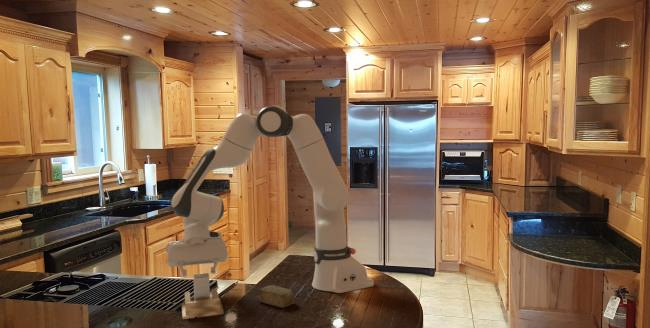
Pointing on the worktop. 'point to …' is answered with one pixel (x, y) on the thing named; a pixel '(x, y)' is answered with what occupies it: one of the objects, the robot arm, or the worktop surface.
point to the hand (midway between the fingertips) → (199, 274)
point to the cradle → (201, 306)
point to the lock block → (201, 287)
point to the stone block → (276, 296)
